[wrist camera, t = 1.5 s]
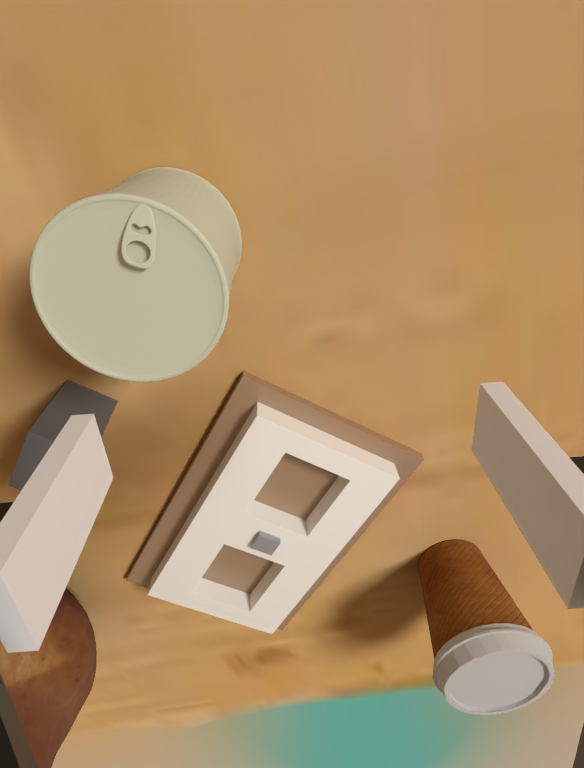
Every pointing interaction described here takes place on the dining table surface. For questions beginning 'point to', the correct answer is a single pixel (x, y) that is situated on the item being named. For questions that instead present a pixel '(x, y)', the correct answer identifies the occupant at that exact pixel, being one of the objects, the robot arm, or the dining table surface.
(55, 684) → the butternut squash
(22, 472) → the plug
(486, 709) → the disposable coffee cup
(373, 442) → the socket board
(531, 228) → the dining table surface
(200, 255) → the can
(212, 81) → the dining table surface
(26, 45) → the dining table surface
